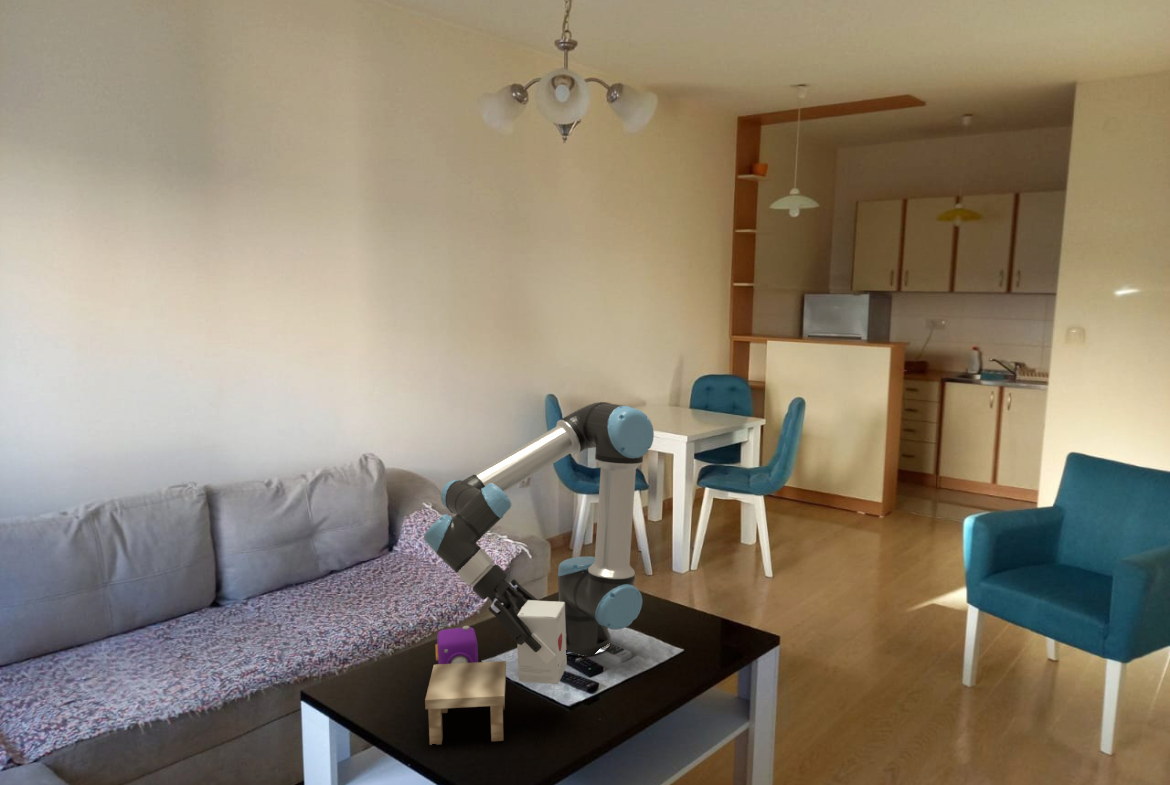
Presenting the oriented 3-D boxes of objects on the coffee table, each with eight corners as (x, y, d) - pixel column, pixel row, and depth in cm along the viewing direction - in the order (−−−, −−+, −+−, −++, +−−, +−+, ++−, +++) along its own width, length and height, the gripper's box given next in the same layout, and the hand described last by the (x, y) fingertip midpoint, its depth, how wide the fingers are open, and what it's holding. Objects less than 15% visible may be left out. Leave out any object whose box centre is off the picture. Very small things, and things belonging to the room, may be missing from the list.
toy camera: (444, 690, 188) (442, 649, 187) (431, 666, 201) (429, 628, 200) (488, 680, 193) (487, 641, 191) (473, 658, 205) (471, 620, 204)
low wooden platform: (507, 703, 182) (505, 661, 181) (505, 741, 166) (504, 695, 165) (435, 707, 181) (433, 664, 179) (427, 746, 165) (425, 700, 164)
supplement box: (558, 685, 170) (556, 617, 168) (517, 682, 171) (514, 615, 170) (568, 665, 178) (565, 601, 177) (529, 663, 180) (526, 599, 178)
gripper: (488, 569, 186) (557, 638, 185) (454, 605, 165) (532, 684, 164) (509, 547, 184) (579, 617, 183) (477, 581, 163) (556, 661, 162)
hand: (556, 649), depth 174 cm, fingers closed on supplement box, 9 cm apart
